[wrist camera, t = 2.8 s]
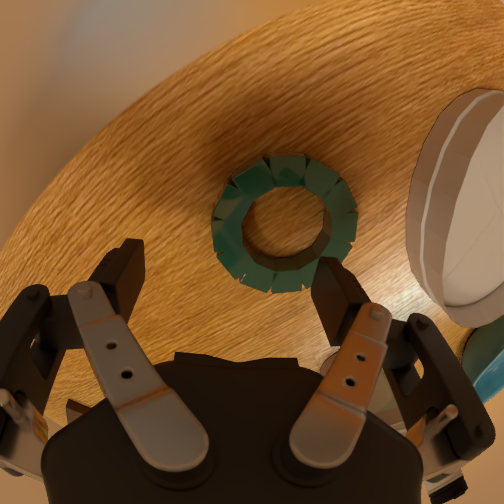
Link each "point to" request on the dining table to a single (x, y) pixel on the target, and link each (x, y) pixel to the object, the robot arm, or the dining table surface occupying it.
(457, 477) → the travel mug
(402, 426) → the coffee cup
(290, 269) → the green segmented ring
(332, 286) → the robot arm
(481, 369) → the casserole dish
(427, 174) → the dish
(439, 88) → the dining table surface
